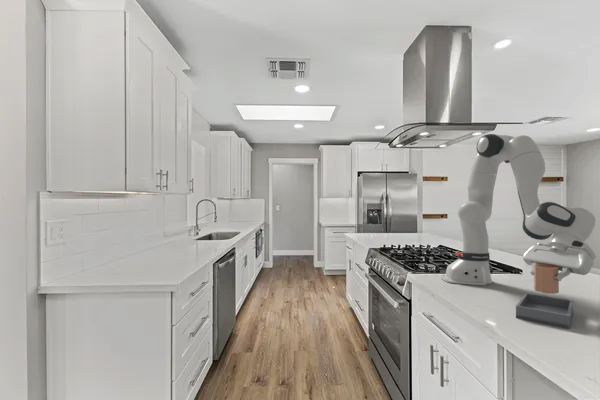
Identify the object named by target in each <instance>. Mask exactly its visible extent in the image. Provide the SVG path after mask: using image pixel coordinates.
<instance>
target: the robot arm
mask: <svg viewBox="0 0 600 400" xmlns="http://www.w3.org/2000/svg"><path fill="white" fill-rule="evenodd" d="M476 152H477V154H476V155H475V157H474V159H473V163H472V165H471V166H472V167H471V170H470V175H469V179H468V184H467V191H468V192H467V193H468V194H467V198H468V199H467V202H465V203H463V204H462V205H461V206H460V207H459V209H458V213H457V215H458V218H459V222H460V227H461V233H462V251H459V250H457V251H455V255H457V256H458V258H457V259H456V260H454V261H453V262H452V263H450V264H448V265H447V267H446V271H445V273H444V274H441V277H440V278H441V279H442V280H443V281H445V282H447V283H450V284H457V285H458V284H459V285H471V286H472V285H473V286H487V285H488V284H489V285H490V284H492V283H493V280H492V276H491V270H490V260H491V257H490V252H489V235H488V231H487V230H488V229H487V223H486V222H487V221H489V219H490V218H491V215H492V213H493V211H492V210H493V201H494V200H493V199H494V189H495V184H496V181H497V175H498V170H499V166H500V164H501V163H503V162H504V163H506V164H510V167H511V169H512V173H513V177H514V180H515V185H516V189H517V195H518V197H519V202H520V207H521V211H522V215H523V220H522V230H523V232H524V233H525V234H526V235H527V236H528V237H530V238H532V239H534V240H537V241H542V240H547V239H549V238H550V239H549V241H548V242H547V244H543V243H537V244H533V245H532V246H531V247H529V248H528V250H526V251H525V253H524V254H523V255H522V259H523V261H524V263H525V264H526V265H528V266H531V271H530V272H529V273H530V274H531V275H532V276H534V265H537V264H543V265H552V266H557V267H558V270H559V274H557V273H556V274H555V276H554V279H555V280H557V281H559V282H561V281H562V280H563V278H566V277H568V276H570V274H575V275H581V276H585V275H588V274H589V273H590V272H591V270H592V268H593V266H594V260H595V259H596V258H597V256H596V253H595V252H594V250H593V249H592V248H591V247H590V245H589V244H588V243H586V242H585V241H587V240H588V239H589V237H590V236H591V234H592V232H593V230H594V228H595V226H596V217H595V215H594V214H593V213H592V212H591V211H589V210H588V209H586V208H583V207H569V206H568V207H567V206H563V205H562V204H559V203H556V202H553V201H546V202H542V203H540V200H539V196H538V195H539V194H538V192H539V191H538V190H539V186H540V184H541V182H542V179H543V177H544V175H545V172H546V163H545V159H544V157H543V154H542V152H541V151H540V149H539V147H538V145H537V143H536V142H535V140H533V138H532V137H531V136H528V135H517V136H512V135H507V134H506V135H505V134H495V133H487V134H484V135H482V136H481V137H479V139H478V141H477V143H476Z"/></svg>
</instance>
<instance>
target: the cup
mask: <svg viewBox="0 0 600 400" xmlns="http://www.w3.org/2000/svg"><path fill="white" fill-rule="evenodd" d="M556 273H557V274H559V273H560V271H559V270H558V267H557V266H552V265H543V264H537V265H534V275H533V284H534V285H533V289H534V290H535V292H539V293H543V294H552V295H553V294H559V292H560V291H559V290H560V288H559V286H560V283H559V282H560V281H557V280H555V279H554V276H555V274H556Z"/></svg>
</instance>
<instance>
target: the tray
mask: <svg viewBox="0 0 600 400" xmlns="http://www.w3.org/2000/svg"><path fill="white" fill-rule="evenodd" d="M573 315H574V300H573V299H572V300H571V299H565V298H558V297H553V296H548V295H547V296H545V295H543V294H541V295H540V294H536V293H535V294H533V293H529V292H525V293H524V294H523V296H522V297H521V298H520V299H519V301H518V302H517V304H516V305H515V318H516V319H521V320H526V321H528V322H529V321H530V322H536V323H540V324H544V325H549V326H554V327H559V328H564V329H567V330H569V329H571V326H572V319H573Z"/></svg>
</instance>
